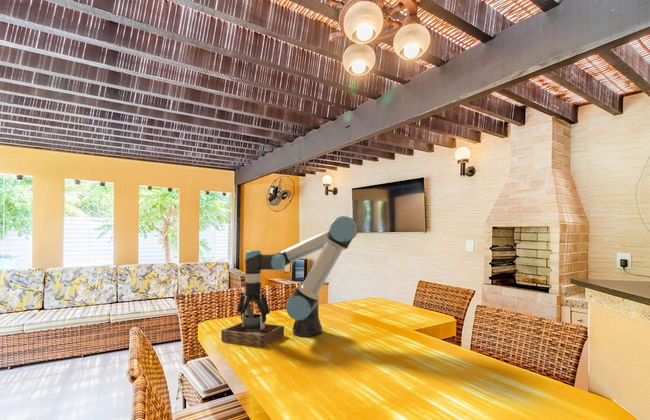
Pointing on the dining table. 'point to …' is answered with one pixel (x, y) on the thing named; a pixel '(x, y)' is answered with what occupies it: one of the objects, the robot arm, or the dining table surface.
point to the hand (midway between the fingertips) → (253, 327)
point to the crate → (252, 335)
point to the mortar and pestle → (251, 320)
